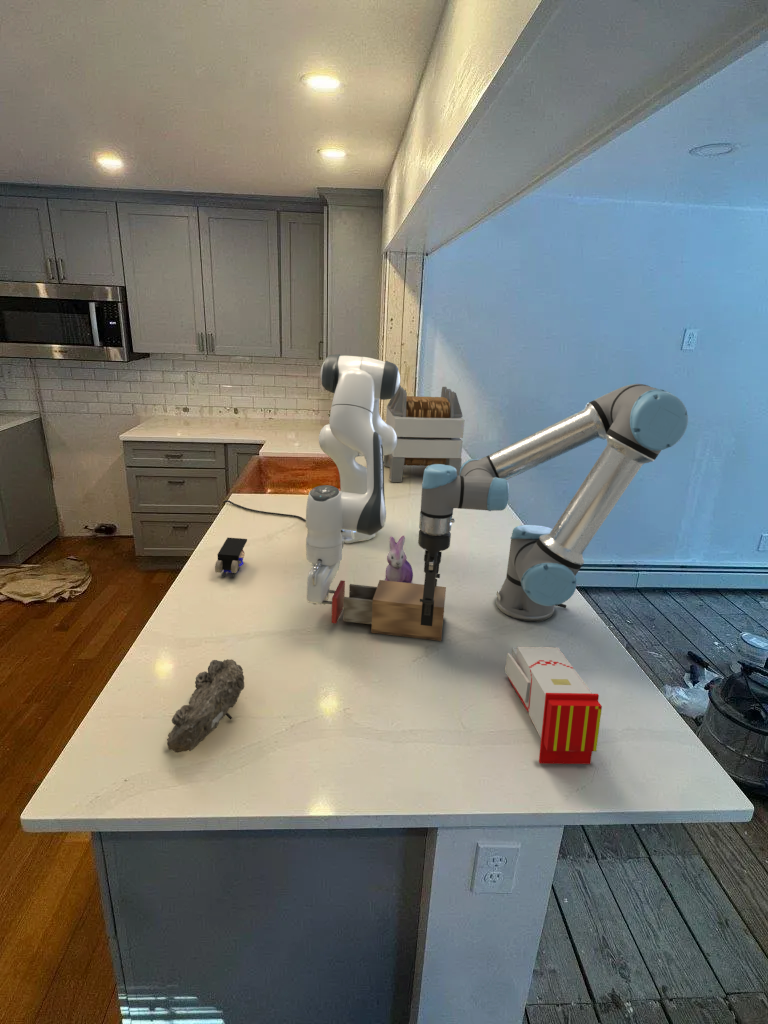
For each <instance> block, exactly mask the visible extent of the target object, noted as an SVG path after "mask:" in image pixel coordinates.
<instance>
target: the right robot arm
mask: <svg viewBox="0 0 768 1024" xmlns="http://www.w3.org/2000/svg"><path fill="white" fill-rule="evenodd" d="M688 424H689V415H688V411H687V407H686V405H685V403H684V402H683V401H682V400H681V399H680V398H679V397H678V396H676V395H675V394H673V393H672V392H670V391H668V390H667V391H666V390H665V389H661V388H656V387H653V386H650V385H648V384H644V383H633V384H628V385H624V386H621V387H618V388H616V389H614V390H612V391H610V392H608V393H605V394H603V395H601V396H600V397H597V398H595V399H593V400H591V401H589V402H587V403H586V404H585V407H584V409H582V410H580V411H578V412H577V413H574V414H572V415H570V416H568V417H565V418H564V419H562V420H559V421H558V422H557V421H556V422H555V423H553V424H551V425H549V426H547V427H545V428H543V429H541V430H538V431H537V432H534V433H532V434H530V435H528V436H526V437H524V438H522V439H520V440H518V441H516V442H514V443H512V444H509V445H507V446H505V447H503V448H501V449H498V450H496V451H495V452H493V453H490V454H489V455H486V456H483V457H481V458H480V459H479V458H469V459H467V460H466V461H464V463H462V464H461V469H460V476H458V475H457V470H456V469H455V468H454V467H453V466H450V465H444V464H433V465H428V466H425V468H424V470H423V476H422V483H421V498H420V511H419V520H418V521H419V522H418V523H419V524H418V528H419V531H418V538H417V539H418V540H417V544H418V546H419V547H420V548H421V549H423V550H425V551H424V555H423V556H424V557H423V561H424V566H423V572H424V583H423V585H424V592H423V599H420V602H422V614H421V625H425V626H432V621H433V609H434V591H435V586H438V579H440V578H441V573H440V572H439V571H440V564H441V561H442V552H443V551H447V550H448V549H449V548H450V546H451V538H452V533H451V531H452V523H455V522H456V520H455V518H453V515H454V509H459V510H460V509H463V510H475V511H488V512H492V511H494V512H495V511H496V512H497V511H504V510H505V509H506V508H507V506H508V502H509V497H510V496H509V495H510V486H509V482H508V480H510V479H513V478H514V477H517V476H519V475H521V474H523V473H525V472H527V471H529V470H531V469H533V468H536V467H537V466H540V465H542V464H544V463H546V462H548V461H551V460H553V459H556V458H557V457H559V456H562V455H564V454H567V453H569V452H570V451H573V450H574V449H577V448H579V447H581V446H583V445H585V444H588V443H590V442H592V441H594V440H597V439H600V440H602V441H603V440H606V446H605V448H604V449H603V450H602V452H601V454H600V455H599V457H598V459H597V460H596V461H595V463H594V465H593V466H592V468H591V469H590V470H589V472H588V474H587V475H586V477H585V478H584V480H583V481H582V483H581V484H580V486H579V488H578V489H577V491H576V492H575V494H574V495H573V497H572V498H571V499H570V501H569V503H568V505H566V507H565V509H564V510H563V512H562V513H561V516H560V517H559V519H557V522H556V523H555V525H554V526H553V528H551V527H548V526H544V525H535V524H522V525H517V526H515V527H514V528H513V529H512V531H511V532H512V533H511V536H510V545H509V552H508V553H509V554H508V562H507V568H506V576H505V580H504V582H503V584H502V585H501V587H500V590H499V591H498V590H496V595H495V596H496V601H495V604H496V607H497V609H498V610H499V611H500V612H502V613H503V614H505V615H506V616H508V617H510V618H513V619H516V620H520V621H526V622H540V621H541V622H542V621H546V620H548V619H550V618H551V617H552V616H553V615H554V613H555V607H559V608H563V609H566V608H567V605H566V604H564V603H566V602H567V601H568V600H570V599H571V598H572V597H573V595H575V592H576V589H577V577H576V576H577V574H578V573H579V572H580V570H581V568H582V567H583V565H584V564H585V559H584V556H583V553H584V552H585V550H586V548H588V546H589V544H590V543H591V541H592V540H593V538H594V537H595V535H596V534H597V533H598V531H599V530H600V528H601V526H602V525H603V524H604V522H605V521H606V519H607V518H608V517H609V514H610V513H611V512H612V510H613V509H614V508H615V506H616V505H617V503H618V502H619V500H620V498H621V497H622V496H623V494H624V493H625V491H626V490H627V488H628V487H629V485H630V484H631V483H632V481H633V479H634V478H635V477H636V475H637V474H638V472H639V470H640V469H641V468H642V466H643V465H644V464H649V463H653V462H655V460H656V459H657V458H658V456H659V455H660V453H661V452H662V451H664V450H666V449H669V448H672V447H673V446H675V445H676V444H677V443H678V442H680V440H681V439H682V438H683V437H684V436H685V433H686V431H687V428H688Z"/></svg>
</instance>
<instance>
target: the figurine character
mask: <svg viewBox="0 0 768 1024" xmlns="http://www.w3.org/2000/svg"><path fill="white" fill-rule="evenodd" d="M247 542H248V538H240V537H226V539H225V541H224V543H223V544H222V546H221V547H220V549H219V551H218V552H217V560H216V562H215V564H214V572H215V573H221V577H222V578H224V577H225V576H226V574H227V573H230V574H231V573H232V574H231V578H234V577H235V575H236V573H237V572H239V571H240V567H242V566H243V565H244V564H245V562H244V558H245V551H244V547H245V546H246V544H247Z"/></svg>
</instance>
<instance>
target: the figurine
mask: <svg viewBox="0 0 768 1024" xmlns="http://www.w3.org/2000/svg"><path fill="white" fill-rule="evenodd" d="M388 539H389V541H388V543H389V551H388V552H387V555H386V562H387V563H388V564H387V566H386V568H385V573H384V575H385V578H384V580H385V581H394V582H404V583H413V579H414V571H413V568H412V564H411V563H410V562H409V561H408V560H407V554H406V552H405V550H404V546H405V542H406V536H405V535H402V536H400V538H399V539H398V541H397V542H396V540H395V538H394V536H392V535H391V536H389V538H388Z"/></svg>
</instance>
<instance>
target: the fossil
mask: <svg viewBox="0 0 768 1024" xmlns="http://www.w3.org/2000/svg"><path fill="white" fill-rule="evenodd" d="M243 670H244V669H243V667H242V665H240V664H237V662H236V661H235V660H234V659H232V658H231V659H227V658H226V659H224V660H223V661H222V660H217V659H212V660H211V661H210V663H209V665H208V666H207V671H201V672H199V673H198V674H197V675H196V676H195V680H194V684H195V685H194V687H195V689H194V690H193V693H192V694H191V697H190V698H189V700H188V704H184V705H182V706H181V707H180V709H177V710H176V711H175V713H174V715H173V716H172V718H171V723H172V724H173V727H172V730H171V731H170V732H168V734H167V738H166V741H167V742H166V745H167V749H168V750H169V751H173V752H174V753H176V754H178V753H182V752H188V751H189V752H192V751H193V750H195V748H196V747H197V746H199V744H200V743H201V742H203V741H204V740H205V739H206V738H207V737H208V736H209V735H210V734H211V733H212V732H214V730H215V729H217V727H218V726H219V724H220V722H221V721H222V720H223V719H224V718H225V716H226V717H227V719H229V720H233V717H232V715H230V714H229V710H230V709H231V708H234V706H235V704H236V703H237V702H238V699H239V697H240V695H241V693H242V691H243V690H245V689H244V688H245V675H244V671H243Z"/></svg>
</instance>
